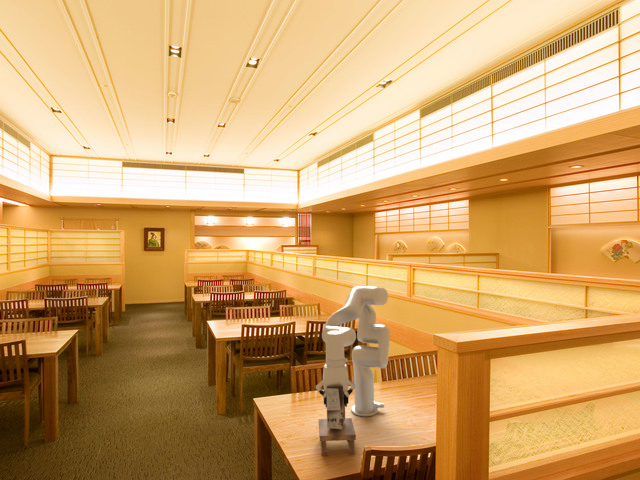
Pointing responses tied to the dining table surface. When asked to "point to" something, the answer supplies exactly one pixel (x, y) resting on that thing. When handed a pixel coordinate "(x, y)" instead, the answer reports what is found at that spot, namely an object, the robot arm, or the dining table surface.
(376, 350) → the robot arm
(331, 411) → the coffee box
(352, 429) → the stool
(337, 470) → the dining table surface
